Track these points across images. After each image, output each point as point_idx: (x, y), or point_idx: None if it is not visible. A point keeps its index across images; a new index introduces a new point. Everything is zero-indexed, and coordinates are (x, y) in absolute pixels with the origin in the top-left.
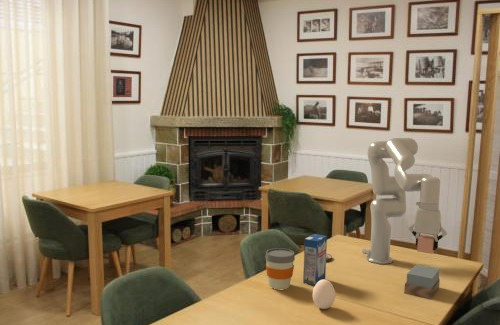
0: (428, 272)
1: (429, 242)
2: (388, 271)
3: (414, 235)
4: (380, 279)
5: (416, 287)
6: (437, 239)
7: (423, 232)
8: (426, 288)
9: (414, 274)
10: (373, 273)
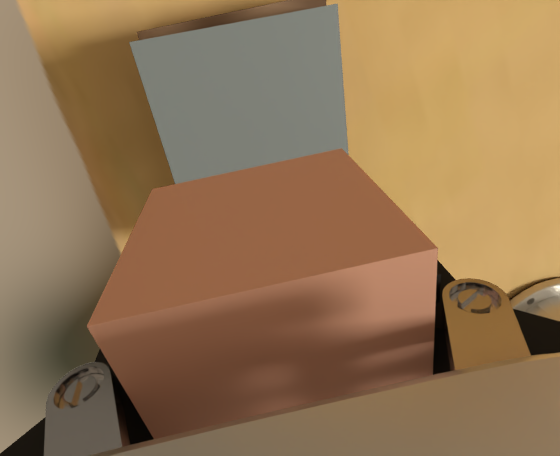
0: (223, 162)
1: (175, 262)
2: (476, 237)
3: (530, 319)
4: (488, 107)
5: (242, 10)
6: (51, 405)
7: (370, 412)
8: (176, 27)
9: (280, 30)
10: (537, 160)
